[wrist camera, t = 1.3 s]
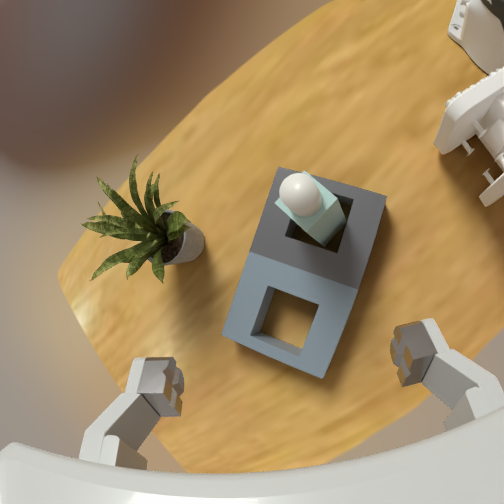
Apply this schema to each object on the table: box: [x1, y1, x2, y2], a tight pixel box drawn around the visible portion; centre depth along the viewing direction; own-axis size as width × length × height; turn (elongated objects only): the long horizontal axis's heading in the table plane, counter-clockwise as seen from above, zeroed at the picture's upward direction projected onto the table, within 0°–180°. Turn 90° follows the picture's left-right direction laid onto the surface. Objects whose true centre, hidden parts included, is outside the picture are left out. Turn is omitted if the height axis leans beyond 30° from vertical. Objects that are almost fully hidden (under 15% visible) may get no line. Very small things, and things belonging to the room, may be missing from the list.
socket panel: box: [221, 167, 387, 379], centre depth 36 cm, size 21×13×4 cm, turn 160°
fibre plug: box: [275, 170, 347, 247], centre depth 31 cm, size 4×4×14 cm
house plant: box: [82, 156, 205, 283], centre depth 36 cm, size 14×14×16 cm
